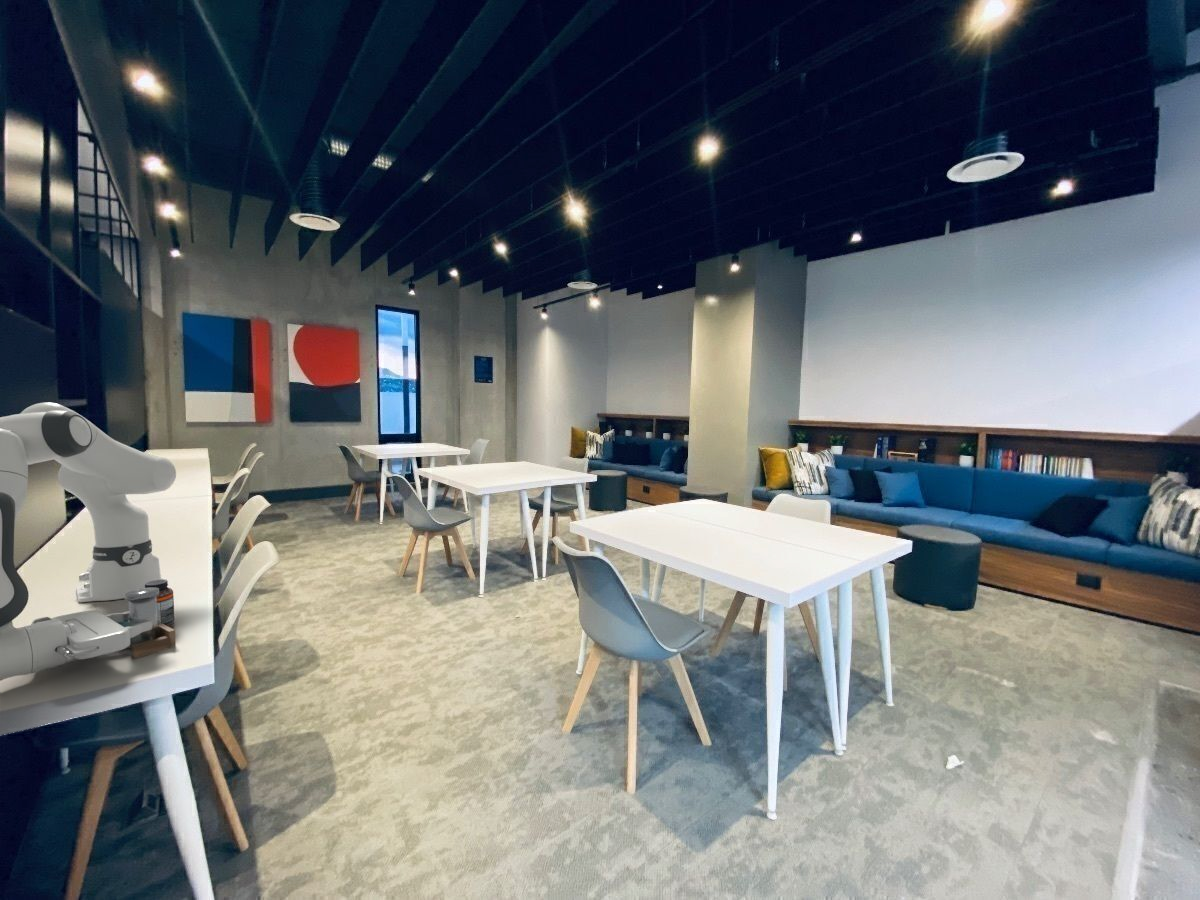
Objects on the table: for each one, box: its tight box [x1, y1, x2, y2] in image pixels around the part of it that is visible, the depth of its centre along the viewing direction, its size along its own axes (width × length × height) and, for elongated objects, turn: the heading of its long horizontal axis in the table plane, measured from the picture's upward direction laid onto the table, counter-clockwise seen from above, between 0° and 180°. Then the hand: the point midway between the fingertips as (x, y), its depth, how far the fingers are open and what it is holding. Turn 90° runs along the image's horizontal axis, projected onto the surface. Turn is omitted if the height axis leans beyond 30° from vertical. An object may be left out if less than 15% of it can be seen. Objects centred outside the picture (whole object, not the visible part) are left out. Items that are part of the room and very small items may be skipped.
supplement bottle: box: [145, 579, 175, 628], centre depth 118 cm, size 6×6×11 cm
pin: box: [124, 587, 159, 653], centre depth 108 cm, size 5×5×12 cm
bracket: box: [122, 621, 176, 660], centre depth 108 cm, size 9×7×4 cm
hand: (142, 619), depth 108 cm, fingers open, 8 cm apart
